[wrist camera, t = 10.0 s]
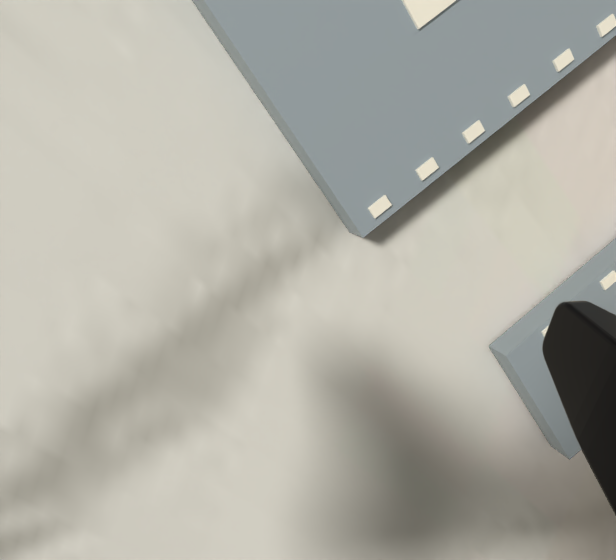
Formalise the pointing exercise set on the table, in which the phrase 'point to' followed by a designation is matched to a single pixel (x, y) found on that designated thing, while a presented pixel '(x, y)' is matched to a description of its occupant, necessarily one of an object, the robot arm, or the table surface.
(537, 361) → the grey slab with post
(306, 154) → the board
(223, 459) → the table surface
